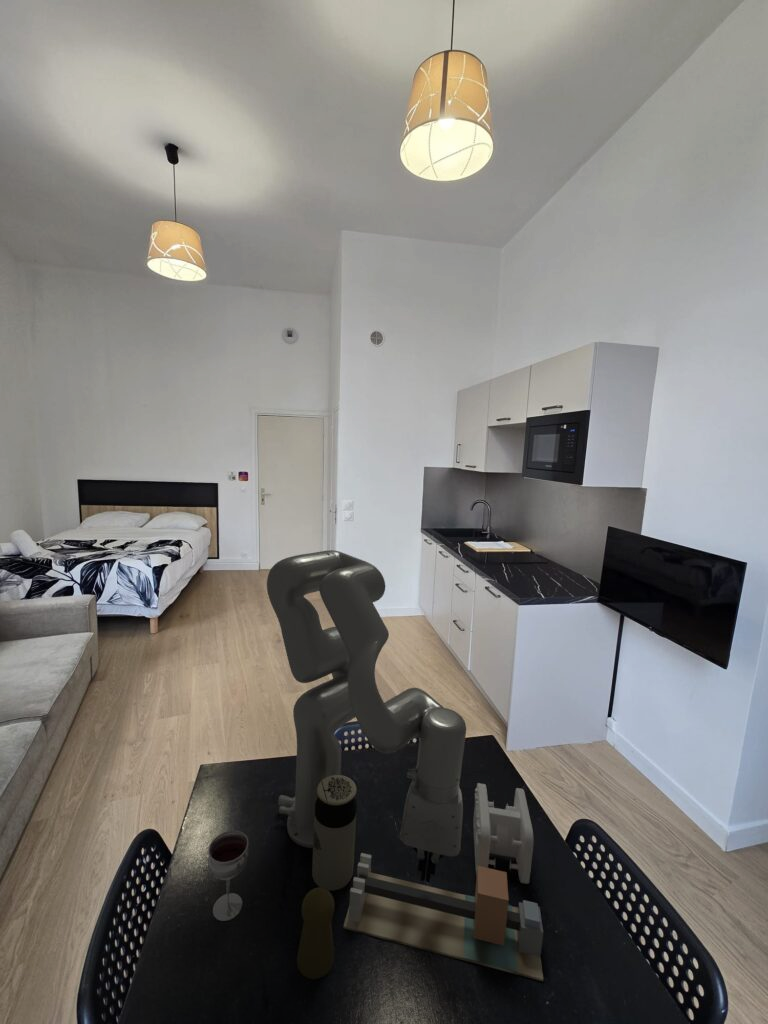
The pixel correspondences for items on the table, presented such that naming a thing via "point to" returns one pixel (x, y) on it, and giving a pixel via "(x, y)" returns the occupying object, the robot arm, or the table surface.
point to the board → (441, 931)
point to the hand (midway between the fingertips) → (425, 874)
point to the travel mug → (334, 832)
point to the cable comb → (359, 888)
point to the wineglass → (228, 869)
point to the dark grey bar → (429, 900)
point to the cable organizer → (503, 832)
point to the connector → (530, 928)
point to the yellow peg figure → (316, 934)
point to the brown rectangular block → (490, 905)
